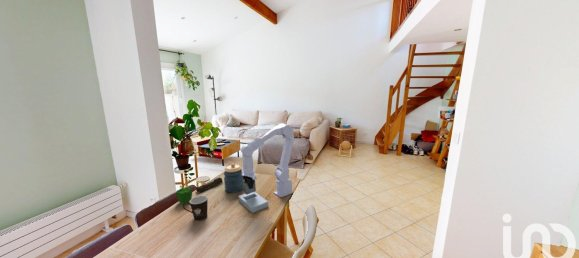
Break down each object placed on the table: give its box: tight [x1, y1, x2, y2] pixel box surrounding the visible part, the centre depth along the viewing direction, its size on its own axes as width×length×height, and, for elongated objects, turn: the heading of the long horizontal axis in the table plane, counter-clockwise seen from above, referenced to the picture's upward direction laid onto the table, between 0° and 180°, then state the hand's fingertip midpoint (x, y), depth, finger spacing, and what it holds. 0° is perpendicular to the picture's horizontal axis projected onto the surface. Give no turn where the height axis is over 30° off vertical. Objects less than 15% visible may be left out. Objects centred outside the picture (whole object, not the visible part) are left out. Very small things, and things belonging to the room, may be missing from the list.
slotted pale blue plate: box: [238, 191, 269, 214], centre depth 122 cm, size 10×17×3 cm, turn 38°
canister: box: [222, 162, 244, 193], centre depth 141 cm, size 13×13×18 cm
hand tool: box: [195, 177, 224, 194], centre depth 145 cm, size 19×4×5 cm, turn 139°
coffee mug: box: [182, 194, 209, 222], centre depth 110 cm, size 12×9×10 cm
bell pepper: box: [175, 185, 193, 205], centre depth 126 cm, size 8×8×10 cm
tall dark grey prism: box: [243, 180, 257, 195], centre depth 123 cm, size 6×3×7 cm, turn 128°
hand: (249, 187), depth 123 cm, fingers closed on tall dark grey prism, 3 cm apart
